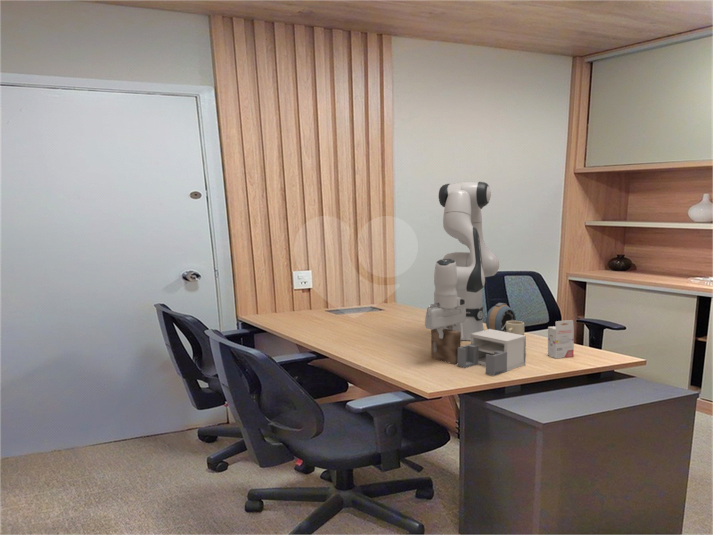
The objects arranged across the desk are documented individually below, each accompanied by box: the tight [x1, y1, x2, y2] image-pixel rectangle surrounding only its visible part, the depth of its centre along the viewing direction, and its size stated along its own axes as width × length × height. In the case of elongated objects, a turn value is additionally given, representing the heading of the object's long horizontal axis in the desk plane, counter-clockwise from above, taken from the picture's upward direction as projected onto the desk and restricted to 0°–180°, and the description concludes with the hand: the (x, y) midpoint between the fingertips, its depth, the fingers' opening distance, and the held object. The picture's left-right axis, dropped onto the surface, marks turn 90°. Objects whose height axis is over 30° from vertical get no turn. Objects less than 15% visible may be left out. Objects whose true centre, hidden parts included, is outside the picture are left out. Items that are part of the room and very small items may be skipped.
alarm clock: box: [485, 302, 517, 332], centre depth 222 cm, size 14×10×18 cm
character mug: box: [506, 320, 525, 335], centre depth 204 cm, size 11×7×13 cm, turn 138°
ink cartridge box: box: [547, 319, 575, 359], centre depth 200 cm, size 9×5×15 cm, turn 105°
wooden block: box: [430, 328, 462, 365], centre depth 197 cm, size 12×4×12 cm, turn 40°
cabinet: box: [457, 328, 527, 377], centre depth 189 cm, size 16×20×11 cm
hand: (445, 337), depth 197 cm, fingers closed on wooden block, 3 cm apart
